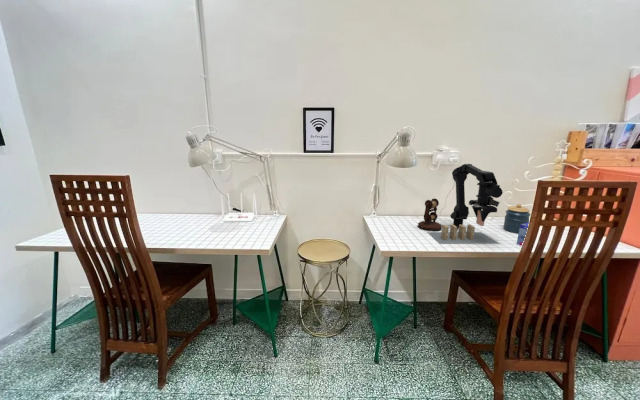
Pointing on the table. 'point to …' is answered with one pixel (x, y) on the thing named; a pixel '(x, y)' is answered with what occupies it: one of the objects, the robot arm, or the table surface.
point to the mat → (478, 239)
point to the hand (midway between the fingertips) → (480, 220)
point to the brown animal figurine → (430, 216)
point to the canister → (515, 218)
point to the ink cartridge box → (522, 233)
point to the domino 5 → (479, 219)
